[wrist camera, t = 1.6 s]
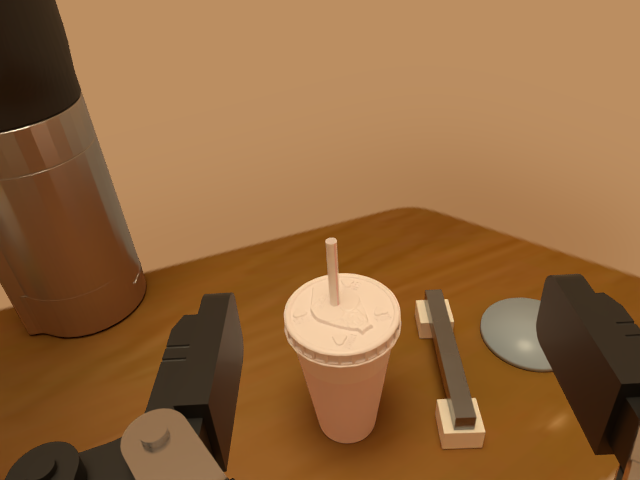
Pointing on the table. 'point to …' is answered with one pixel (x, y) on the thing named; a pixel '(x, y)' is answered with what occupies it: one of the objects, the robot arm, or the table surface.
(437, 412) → the hurdle stand
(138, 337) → the table surface
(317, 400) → the smoothie
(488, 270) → the table surface
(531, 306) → the pad
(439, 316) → the steel bar
